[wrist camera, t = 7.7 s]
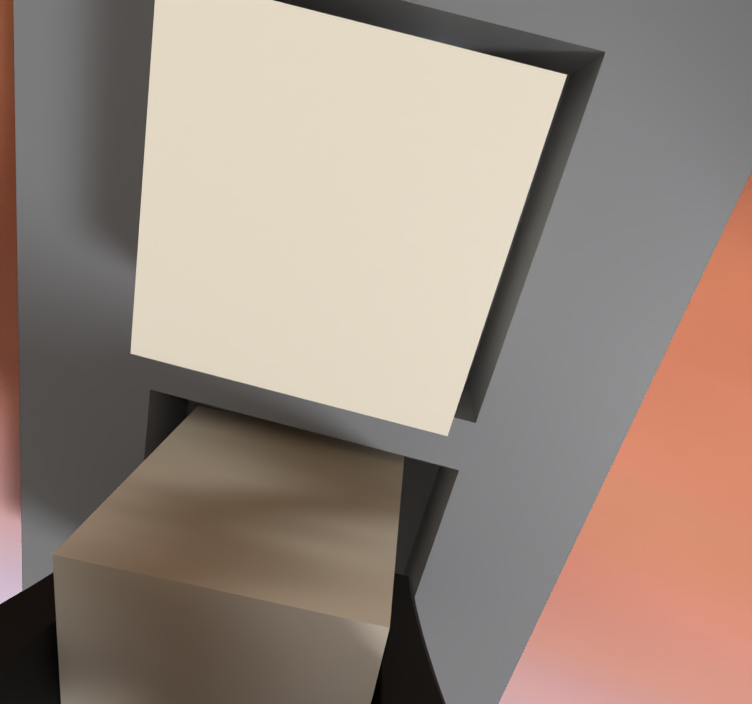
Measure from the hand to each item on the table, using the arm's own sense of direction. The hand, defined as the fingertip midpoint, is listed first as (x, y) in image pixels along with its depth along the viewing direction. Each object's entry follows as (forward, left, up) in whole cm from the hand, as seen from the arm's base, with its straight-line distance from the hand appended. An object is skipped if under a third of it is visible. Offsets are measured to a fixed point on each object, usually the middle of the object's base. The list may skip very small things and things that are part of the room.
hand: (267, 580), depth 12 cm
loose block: (0, -1, -2) cm, 2 cm away
